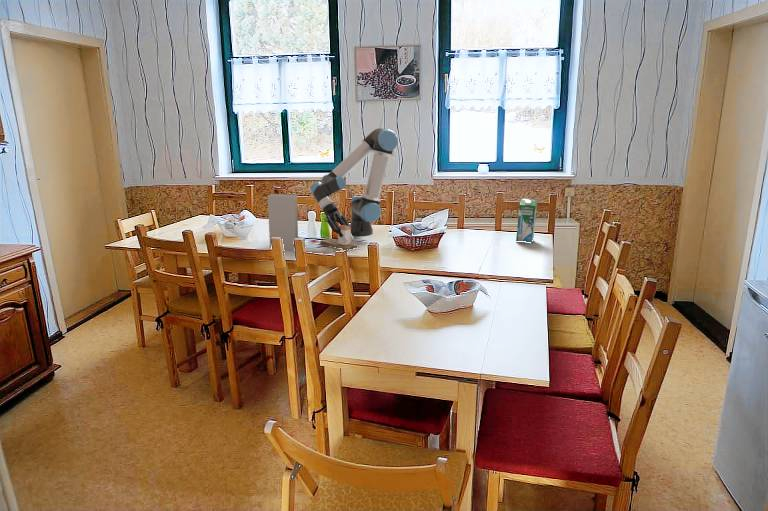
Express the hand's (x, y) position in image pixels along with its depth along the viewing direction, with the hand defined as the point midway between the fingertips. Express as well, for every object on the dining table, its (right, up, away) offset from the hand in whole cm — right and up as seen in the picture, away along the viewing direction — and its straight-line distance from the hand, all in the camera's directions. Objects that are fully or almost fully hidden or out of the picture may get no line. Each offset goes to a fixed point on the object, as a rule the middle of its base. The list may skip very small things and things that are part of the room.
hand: (349, 240), depth 279 cm
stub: (-3, -2, +3) cm, 5 cm away
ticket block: (-6, -3, +7) cm, 9 cm away
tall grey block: (-35, -5, -3) cm, 36 cm away
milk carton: (+103, 0, +25) cm, 106 cm away
